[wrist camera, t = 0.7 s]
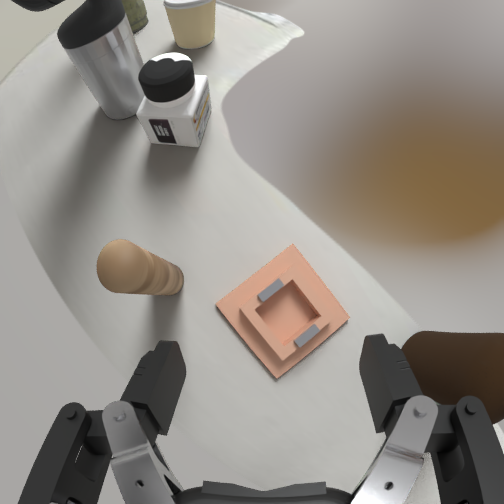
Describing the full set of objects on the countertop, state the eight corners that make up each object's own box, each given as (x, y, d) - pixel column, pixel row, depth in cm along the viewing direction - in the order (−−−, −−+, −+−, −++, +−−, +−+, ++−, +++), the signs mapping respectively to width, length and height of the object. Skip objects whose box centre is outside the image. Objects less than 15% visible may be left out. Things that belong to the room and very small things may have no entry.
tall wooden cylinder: (148, 276, 33) (88, 260, 18) (171, 257, 34) (125, 228, 19) (165, 301, 33) (113, 303, 18) (190, 282, 33) (152, 271, 19)
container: (199, 148, 36) (184, 87, 24) (150, 144, 36) (121, 88, 24) (212, 108, 38) (204, 46, 25) (166, 105, 38) (146, 47, 25)
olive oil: (403, 321, 34) (554, 329, 9) (449, 331, 34) (577, 338, 9) (382, 391, 32) (510, 461, 7) (431, 394, 32) (547, 438, 7)
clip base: (215, 303, 33) (212, 304, 30) (291, 244, 35) (297, 238, 31) (275, 376, 32) (279, 385, 28) (347, 317, 33) (358, 318, 30)
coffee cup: (227, 33, 41) (226, -12, 30) (199, 56, 40) (192, 6, 28) (191, 25, 42) (186, -17, 30) (162, 46, 40) (151, 2, 28)
